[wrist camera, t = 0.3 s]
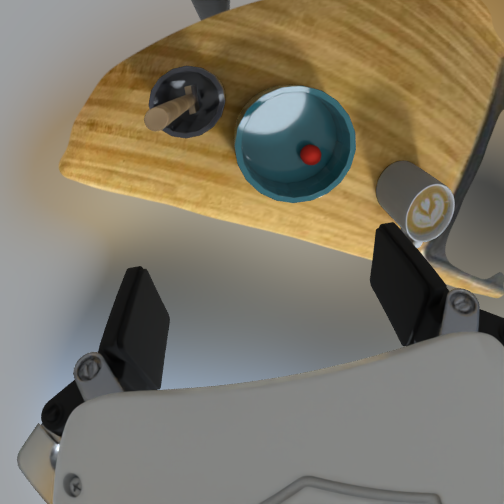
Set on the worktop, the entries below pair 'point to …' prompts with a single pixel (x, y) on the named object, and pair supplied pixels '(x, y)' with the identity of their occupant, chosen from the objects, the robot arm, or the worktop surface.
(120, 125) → the worktop surface
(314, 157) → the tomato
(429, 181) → the coffee mug
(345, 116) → the bowl
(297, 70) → the worktop surface
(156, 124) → the paddle
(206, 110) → the crock
